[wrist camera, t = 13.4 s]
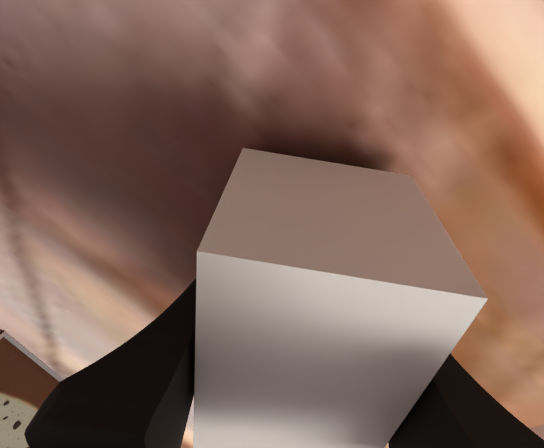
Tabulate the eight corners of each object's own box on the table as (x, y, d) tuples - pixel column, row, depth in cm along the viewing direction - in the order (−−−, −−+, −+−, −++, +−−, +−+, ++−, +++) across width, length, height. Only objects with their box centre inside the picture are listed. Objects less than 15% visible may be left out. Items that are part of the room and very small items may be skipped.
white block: (412, 175, 12) (487, 299, 7) (344, 343, 17) (360, 482, 12) (243, 147, 12) (197, 251, 7) (226, 323, 17) (193, 455, 12)
